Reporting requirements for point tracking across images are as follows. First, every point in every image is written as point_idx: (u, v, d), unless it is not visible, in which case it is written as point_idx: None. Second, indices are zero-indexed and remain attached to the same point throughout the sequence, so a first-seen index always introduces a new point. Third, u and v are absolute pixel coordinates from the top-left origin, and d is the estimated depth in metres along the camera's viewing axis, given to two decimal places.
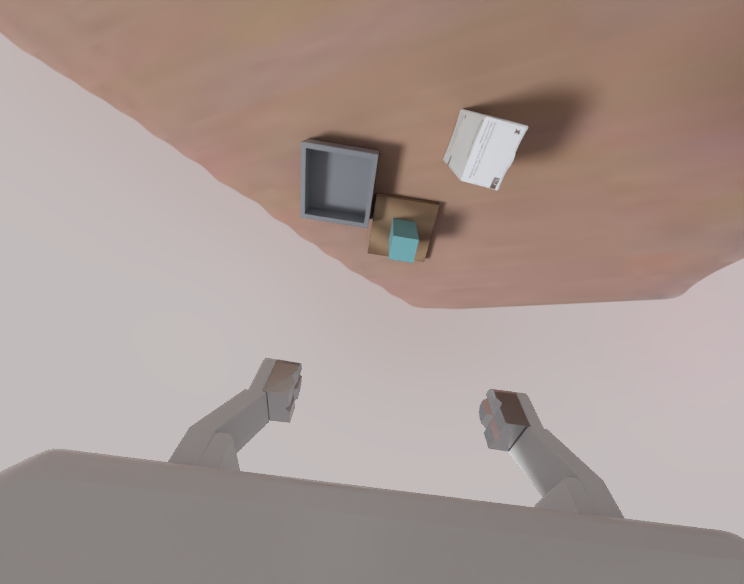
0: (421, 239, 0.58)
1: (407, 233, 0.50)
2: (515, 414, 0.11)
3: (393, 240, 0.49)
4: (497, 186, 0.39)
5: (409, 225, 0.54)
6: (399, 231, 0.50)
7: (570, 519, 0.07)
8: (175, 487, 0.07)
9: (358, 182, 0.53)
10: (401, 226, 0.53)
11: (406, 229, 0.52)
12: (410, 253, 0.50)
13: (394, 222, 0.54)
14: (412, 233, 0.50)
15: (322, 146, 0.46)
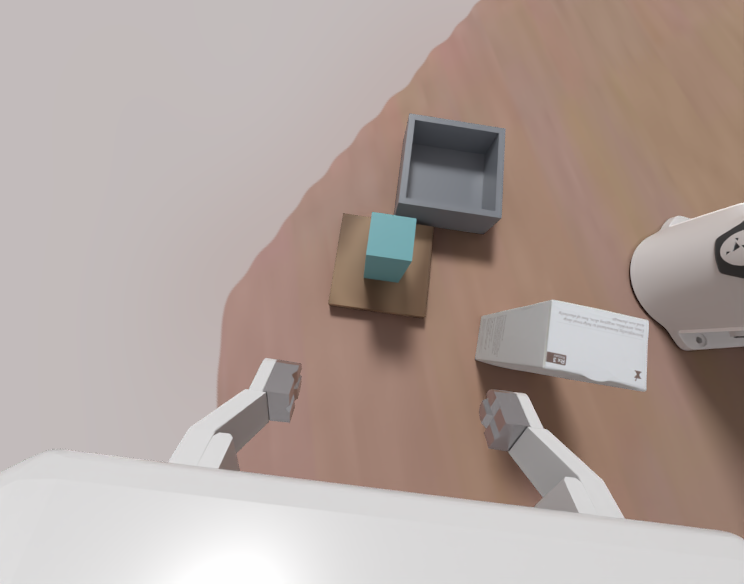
0: (369, 294, 0.36)
1: None
2: (515, 414, 0.11)
3: (407, 219, 0.28)
4: (551, 365, 0.22)
5: None
6: None
7: (570, 519, 0.07)
8: (175, 487, 0.07)
9: None
10: None
11: None
12: (385, 247, 0.27)
13: None
14: None
15: (503, 151, 0.37)
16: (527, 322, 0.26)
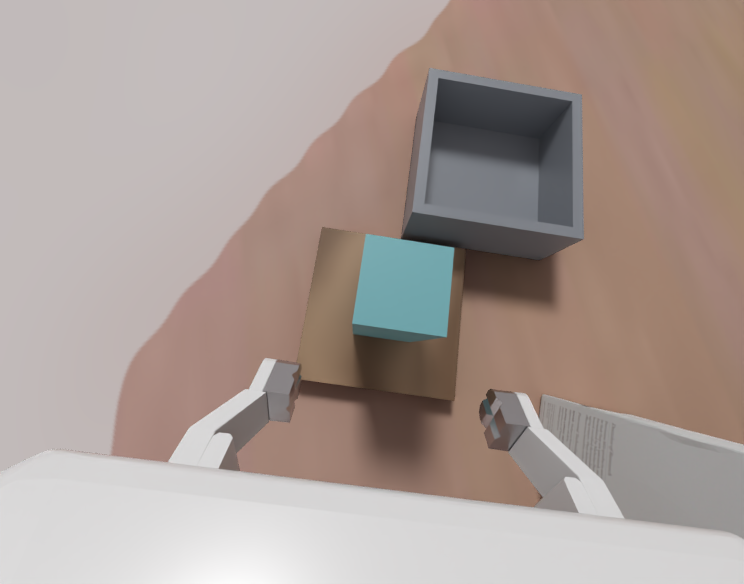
0: (362, 362, 0.22)
1: None
2: (515, 414, 0.11)
3: (437, 248, 0.14)
4: None
5: None
6: None
7: (570, 519, 0.07)
8: (175, 487, 0.07)
9: None
10: None
11: None
12: (391, 308, 0.13)
13: None
14: None
15: (580, 130, 0.23)
16: (701, 482, 0.12)
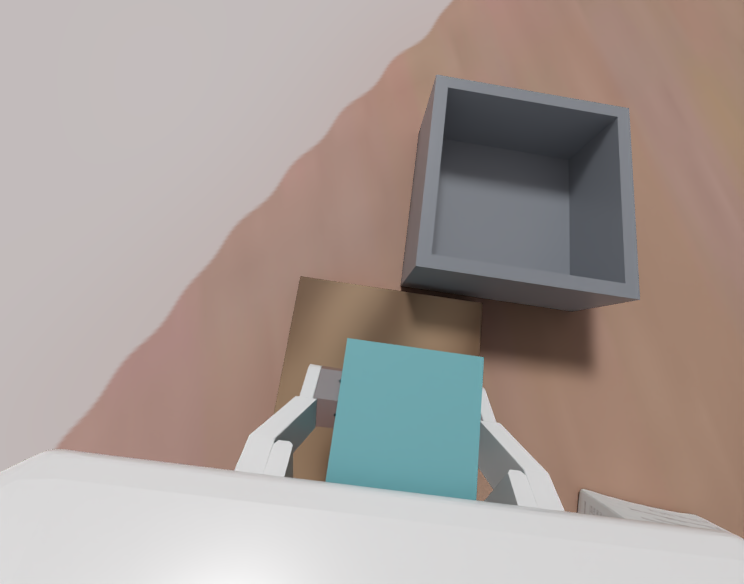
0: None
1: None
2: None
3: (457, 359, 0.09)
4: None
5: None
6: None
7: (570, 519, 0.07)
8: (175, 487, 0.07)
9: (501, 257, 0.20)
10: None
11: None
12: (387, 464, 0.08)
13: None
14: None
15: (629, 155, 0.18)
16: None
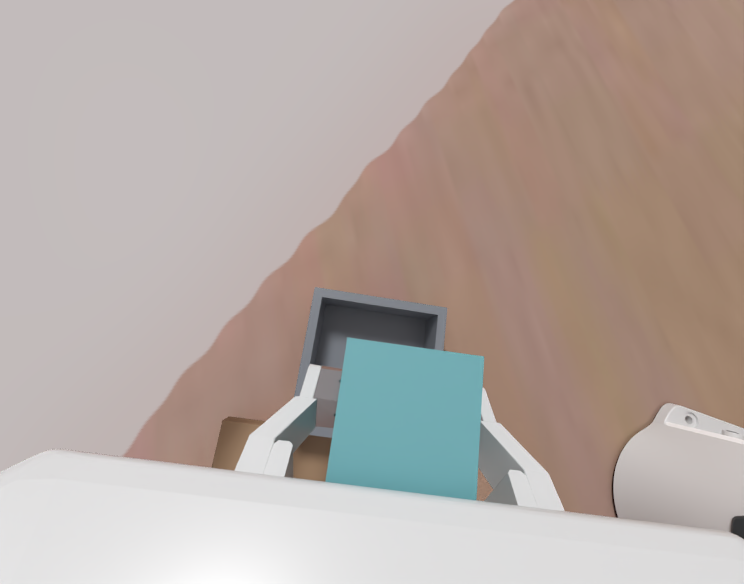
0: None
1: None
2: None
3: (457, 359, 0.09)
4: None
5: None
6: None
7: (570, 519, 0.07)
8: (175, 487, 0.07)
9: None
10: None
11: None
12: (387, 464, 0.08)
13: None
14: None
15: (442, 344, 0.27)
16: None
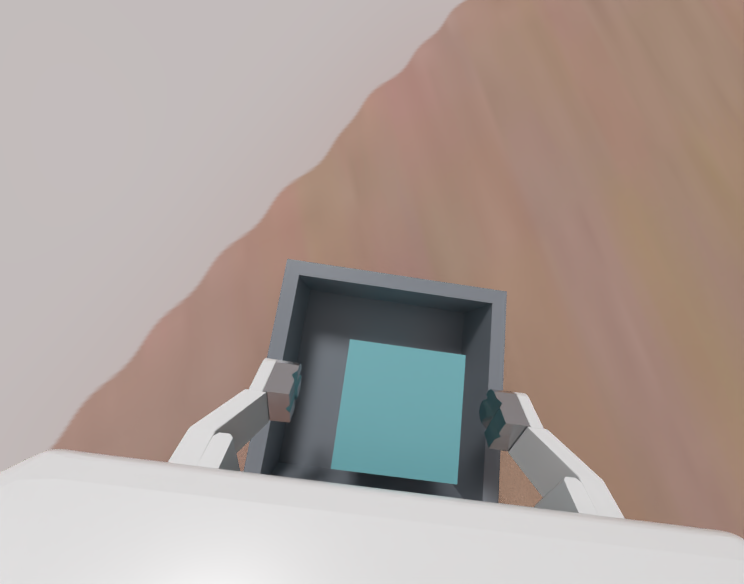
0: None
1: None
2: (515, 413, 0.11)
3: (443, 357, 0.11)
4: None
5: None
6: None
7: (570, 519, 0.07)
8: (175, 487, 0.07)
9: None
10: None
11: None
12: (383, 445, 0.10)
13: None
14: None
15: (501, 352, 0.16)
16: None
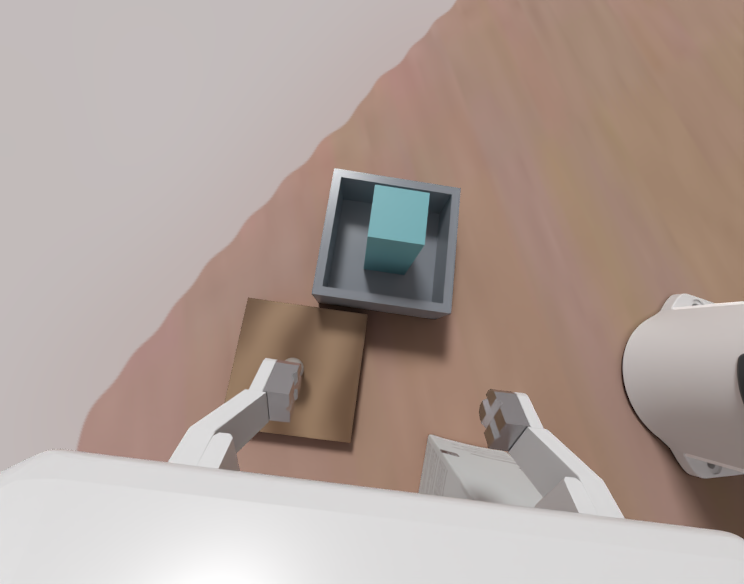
0: None
1: None
2: (515, 414, 0.11)
3: (419, 193, 0.23)
4: None
5: None
6: None
7: (570, 519, 0.07)
8: (175, 487, 0.07)
9: (386, 283, 0.30)
10: None
11: None
12: (391, 228, 0.22)
13: None
14: None
15: (456, 220, 0.28)
16: None
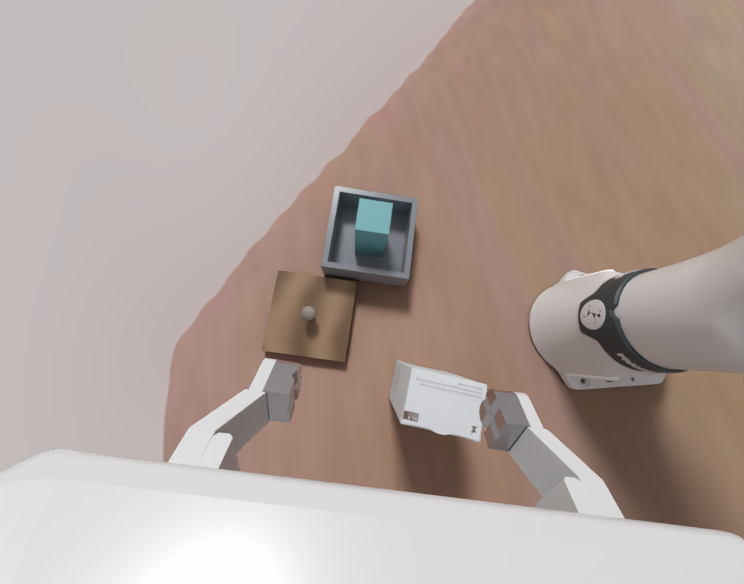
0: (297, 342, 0.42)
1: None
2: (515, 414, 0.11)
3: (386, 203, 0.38)
4: (406, 421, 0.28)
5: None
6: None
7: (570, 519, 0.07)
8: (175, 487, 0.07)
9: (369, 262, 0.45)
10: None
11: None
12: (368, 224, 0.37)
13: None
14: None
15: (414, 219, 0.43)
16: (403, 380, 0.32)
